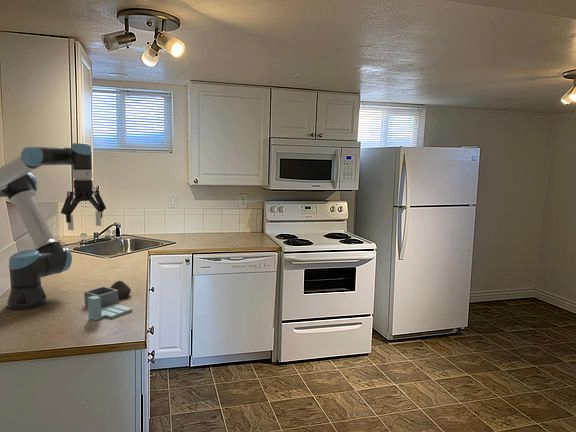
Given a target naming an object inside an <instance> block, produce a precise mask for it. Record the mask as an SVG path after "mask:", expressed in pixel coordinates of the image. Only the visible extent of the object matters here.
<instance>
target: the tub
mask: <svg viewBox="0 0 576 432" xmlns="http://www.w3.org/2000/svg"><path fill="white" fill-rule="evenodd" d="M91 296H98V297H101V308H104V307H107V306H109V305H113V304H119V300H120V299H119V298H118V290H116V289H112V288H110V287H107V286H100V287H97V288H93V289H90V290H87V291H84V306H87V307H88V297H91Z"/></svg>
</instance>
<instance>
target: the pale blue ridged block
mask: <svg viewBox="0 0 576 432" xmlns="http://www.w3.org/2000/svg"><path fill="white" fill-rule="evenodd" d="M87 309H88V310H87V311H88V319H90V320H94V321H97V320H100V319H102V318H106V317H107V318H109V319H114V318H116V316H117V317H119V316H122V315H124V313H125V314H127V313H129V311H130V312H132V311H133V310H134V309H133V307H130V306H125V305H122V304H119V303H117V304H113V305H109V306H107V307H104V308H101V297H98V296H91V297H88V306H87ZM126 312H127V313H126ZM121 314H122V315H121ZM118 315H119V316H118ZM113 317H114V318H113Z"/></svg>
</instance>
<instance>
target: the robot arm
mask: <svg viewBox="0 0 576 432" xmlns="http://www.w3.org/2000/svg"><path fill="white" fill-rule="evenodd" d="M92 153H93V152H92V148H91V144H89V143H85V142H84V143H83V142H81V143H79V142H76V143H75V142H73V143H71V147H66V146H59V147H58V146H57V147H55V146H53V147H51V146H49V147H48V146H27V147H26V146H25V147H24V148H23V149H22V151H21V153H20V156H18V157H15V158H14V159H13V160H11V161H9V162H8V163H6V164H4V165H2V166H1V167H0V198H4V197H7V198H8V201H9V202H10V203H12V204H14V206H16V209H17V211H18V213H19V215H20V217H21V220H22V221H23V224H24V225H25V228H26V230H27V232H28V234H29V236H30V239H31V241H32V242H33V245H34V249H28V250H27V249H26V250H21V251H18V252H15V253H13V254H12V255H10V257H9V259H8V269H9V279H10V281H9V282H10V292H9V294H8V297H7V301H6V302H7V308H8V309H10V310H28V309H34V308H38V307H41V306H43V305H45V304H46V303H47V301H48V300H47V295H46V293H45V291H44V289H43V287H42V278H45V277H49V276H52V275H56V274H57V275H58V274H61V273H63V272H65V271H68V270H69V269H70V268H71V266H72V261H73V255H72V252H71V250H70V249H69V248H68V247H67V246H62V244H61V242H60V241H58V240H55V238H54V236H53V233H52V231H51V229H50V228H49V226H48V223H47V221H46V219H45V217H44V215H43V213H42V211H41V208H40V207H39V205H38V202H37V200H36V196H37V191H38V182H37V179H36V178H35V175H33V173H31V172H33V171H35V170H36V169H38V168H40V167H44V166H72V178H73V179H74V180H72V181H73V188H74V190H73V191H71V190H70V191H69V190H68V191H67V192H66V198H65V201H64V204H63V206H62V208H61V211H60V214H63V215H64V216H65V222H66V223H67V230H68V231H75V230H74V228H75V226H74V215H73V214H72V213H73V212H74V210H75V209H76V208H77V206H78V204H80V202H85V201H86V202H89V203H90V204H91V205H92V207H94V208H95V210H96V211H95V225H96V226H97V227H102V218H103V212H104V211H105V210H107V206H106V205H105V203H104V201H103V198H102V197H101V195H100V190H99V189H95V188H94V189H93V186H94V185H93V183H94V182H93V180H92V179H93V166H92V164H93V162H92V161H93V159H92V157H93V156H92ZM93 196H94V197H93Z"/></svg>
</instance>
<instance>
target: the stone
mask: <svg viewBox="0 0 576 432" xmlns="http://www.w3.org/2000/svg"><path fill="white" fill-rule="evenodd" d="M109 288H112V289H116V290H118V299H119V300H125V299H127V298H128V297H129V295H130V294H131V292H132V291H131V287H129V286H128V285H127V284H126V283H125V282H124V281H121V280H117V281H116V282H114V283H113V284H112V285H111V286H110V287H109Z"/></svg>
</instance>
